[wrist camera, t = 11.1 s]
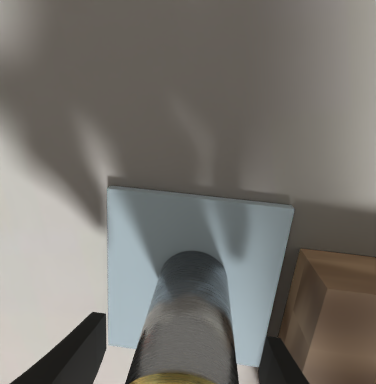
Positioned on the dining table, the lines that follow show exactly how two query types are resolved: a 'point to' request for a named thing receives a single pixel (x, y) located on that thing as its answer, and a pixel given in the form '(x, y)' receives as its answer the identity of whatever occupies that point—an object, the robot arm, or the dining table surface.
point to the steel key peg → (187, 326)
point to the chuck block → (332, 317)
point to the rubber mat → (194, 241)
